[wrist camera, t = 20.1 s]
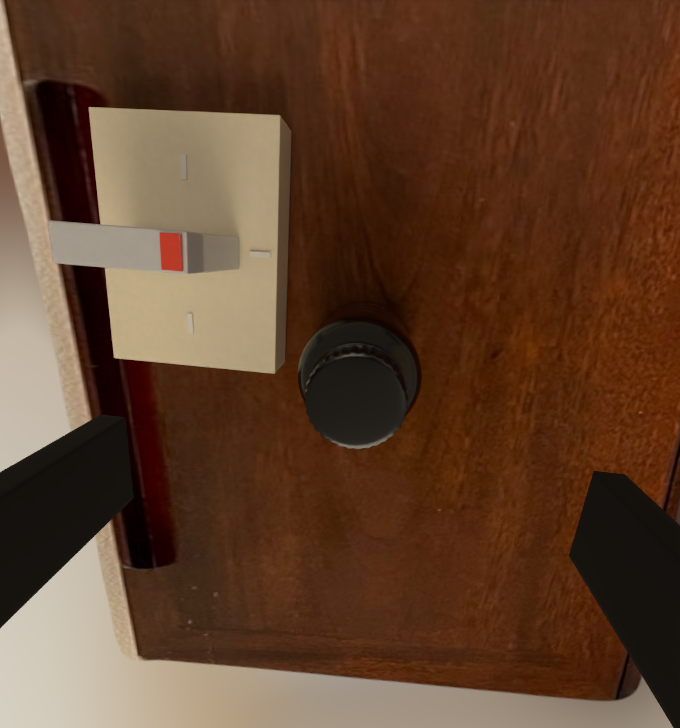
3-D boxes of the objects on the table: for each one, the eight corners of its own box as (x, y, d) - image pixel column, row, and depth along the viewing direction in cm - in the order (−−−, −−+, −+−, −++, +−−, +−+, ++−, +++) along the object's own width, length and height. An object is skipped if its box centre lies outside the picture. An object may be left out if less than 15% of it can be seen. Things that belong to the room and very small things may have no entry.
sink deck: (119, 122, 26) (86, 105, 23) (291, 130, 25) (279, 113, 22) (138, 348, 31) (112, 358, 28) (285, 362, 30) (274, 374, 27)
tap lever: (137, 261, 26) (48, 263, 19) (135, 229, 25) (42, 219, 18) (239, 269, 25) (185, 275, 18) (239, 237, 25) (183, 230, 18)
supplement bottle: (388, 401, 30) (392, 492, 18) (306, 368, 30) (260, 439, 18) (425, 320, 28) (457, 365, 16) (338, 284, 28) (308, 305, 16)
